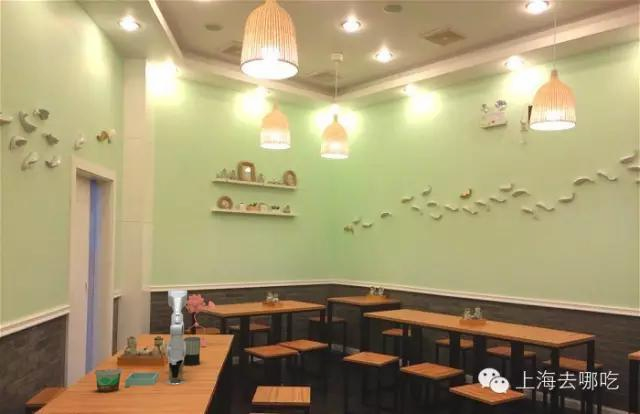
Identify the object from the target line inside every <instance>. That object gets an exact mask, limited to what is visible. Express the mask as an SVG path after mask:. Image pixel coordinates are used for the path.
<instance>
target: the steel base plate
mask: <svg viewBox="0 0 640 414" xmlns="http://www.w3.org/2000/svg"><path fill="white" fill-rule="evenodd" d="M186 382H187V380H186V379H183V378H182V379H181V382H178V383H172V382H171V380H169V379H168V380H165V382H164V383H165V384H166V385H167V384H168V385H181V384H184V383H186Z"/></svg>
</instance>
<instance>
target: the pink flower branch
mask: <svg viewBox="0 0 640 414" xmlns="http://www.w3.org/2000/svg"><path fill="white" fill-rule="evenodd" d="M204 300H205V299H204V298H203V297H202V295H201V294H199V293H198V294H192V295H189V296H187V303H186V306H184V307H185V308H186V309H187V311H188V312H189V314H192V313H195V314H194V315H193V317H194V320H195V323H194V324H193V325H192V326H189V327H188V331H190V329H191V328H192V327H195V328H198V327H200V328H203V329H204V330H203V333H205V332H206V331H205V330H206V328H205V327H203V326H201V325H199V324H200V323H199V322H197V319H196V315H197V314H199V313H200V312H203V313H207V312H208V309H209V308H210V309H211V310H213V311H215V310H216V304H215V303H214V302H213V301H211V300H209V302H208V303H207V307H206V310H204V307H205V306H206V302H204ZM184 307H182V309H183V308H184ZM200 345H201V346H202V347H203V346H205V347H206V345H207V339H206V338H205V334H203V336H202V337H201V339H200Z"/></svg>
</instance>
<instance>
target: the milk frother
mask: <svg viewBox="0 0 640 414" xmlns="http://www.w3.org/2000/svg"><path fill="white" fill-rule="evenodd" d="M183 338H184V339H183V340H184V341H185V342H186V355H185V357H184V356H183V366H187V365H195V366H198V365H197V364H199V363H200V362H201V361H200V360H201V359H200V358H201V356H200V355H201V339H202V337H199V336H187V337H183ZM200 364H201V363H200ZM200 364H199V365H200Z"/></svg>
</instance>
